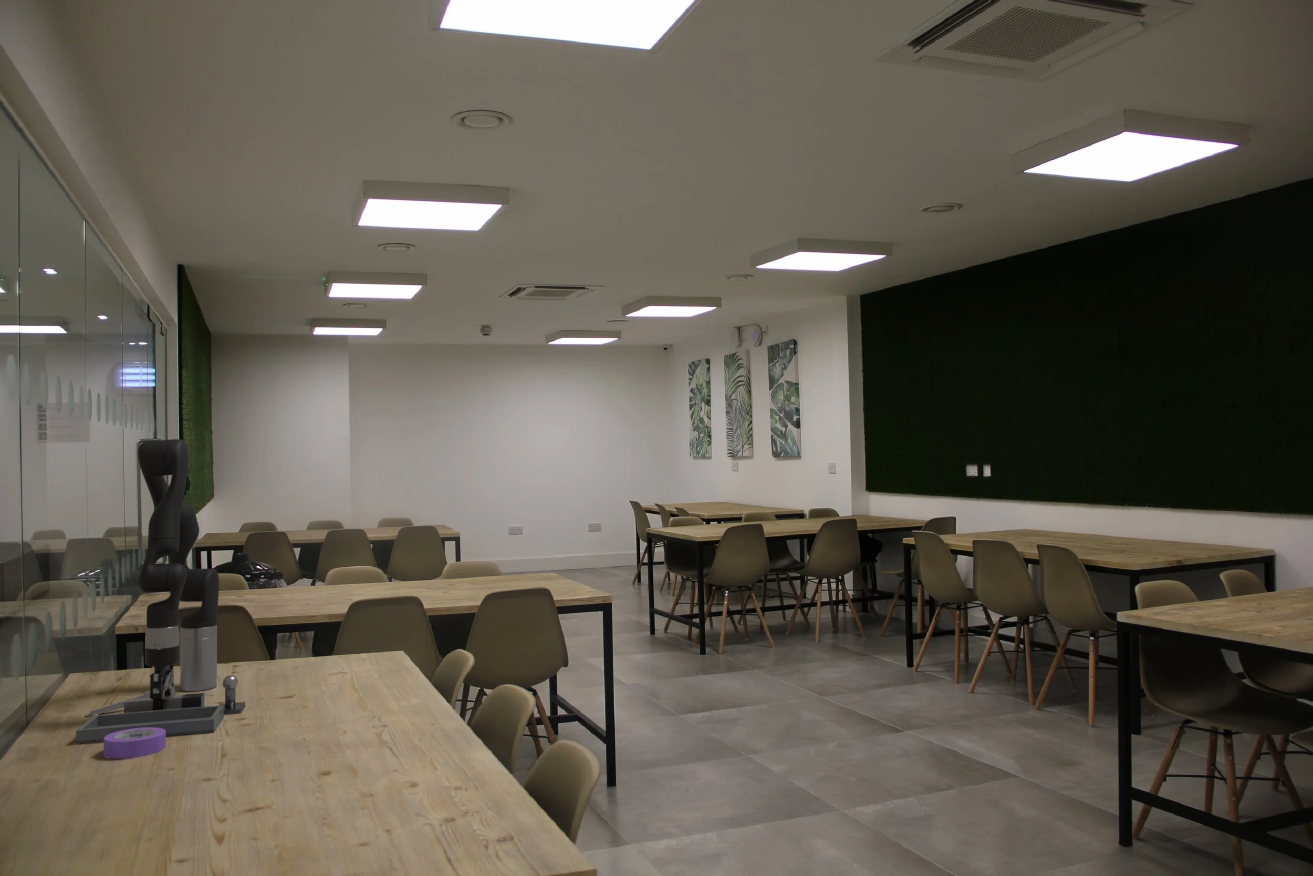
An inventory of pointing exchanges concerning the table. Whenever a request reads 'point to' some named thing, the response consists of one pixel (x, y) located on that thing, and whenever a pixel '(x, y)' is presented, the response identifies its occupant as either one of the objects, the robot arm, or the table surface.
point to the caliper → (121, 704)
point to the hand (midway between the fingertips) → (162, 710)
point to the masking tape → (134, 742)
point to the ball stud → (231, 696)
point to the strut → (165, 703)
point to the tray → (153, 722)
